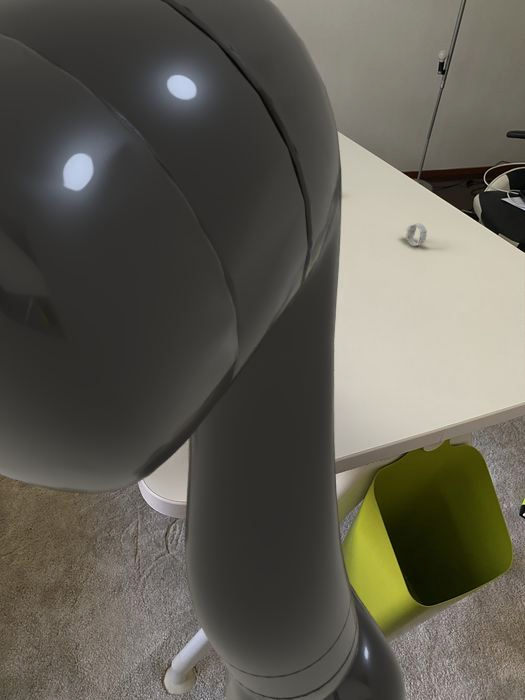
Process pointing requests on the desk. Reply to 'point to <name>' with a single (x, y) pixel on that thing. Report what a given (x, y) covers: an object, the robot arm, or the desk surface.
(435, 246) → the desk surface
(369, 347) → the desk surface
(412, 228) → the grey ring
